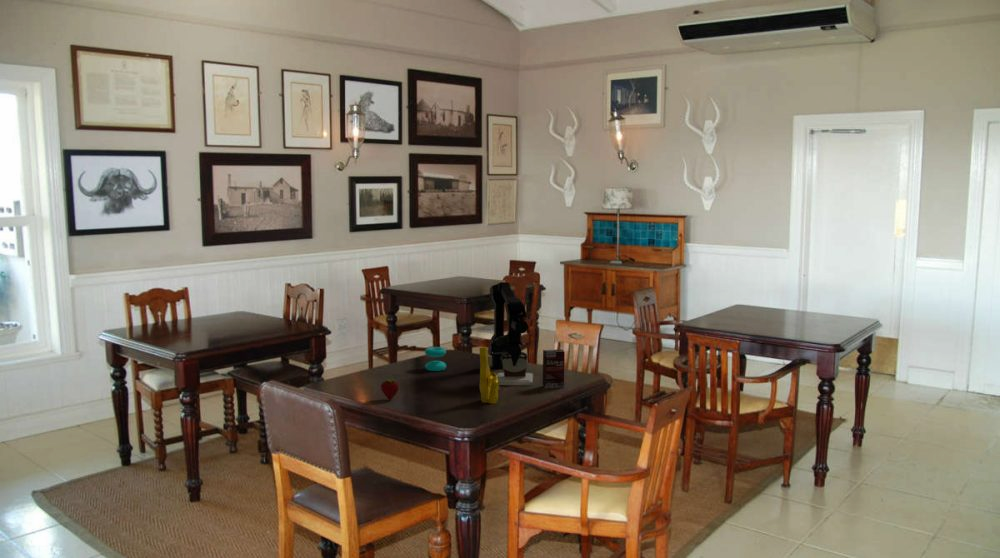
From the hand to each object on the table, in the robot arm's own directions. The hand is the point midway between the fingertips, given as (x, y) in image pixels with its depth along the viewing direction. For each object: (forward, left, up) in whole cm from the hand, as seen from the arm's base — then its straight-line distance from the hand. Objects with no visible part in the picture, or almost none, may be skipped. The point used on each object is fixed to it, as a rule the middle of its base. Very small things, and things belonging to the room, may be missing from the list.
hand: (514, 364), depth 348 cm
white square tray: (0, 0, -7) cm, 7 cm away
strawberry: (+34, -49, -8) cm, 60 cm away
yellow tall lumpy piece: (+35, -9, -8) cm, 37 cm away
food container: (-1, 0, -5) cm, 5 cm away
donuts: (-21, -38, -8) cm, 44 cm away
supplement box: (+10, +17, -8) cm, 21 cm away
